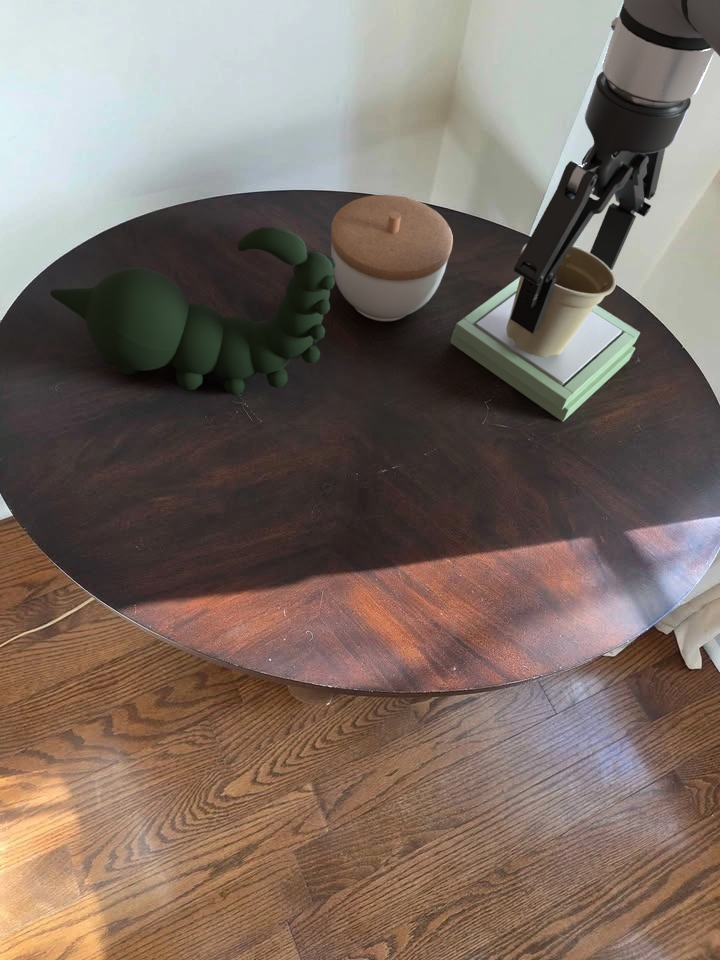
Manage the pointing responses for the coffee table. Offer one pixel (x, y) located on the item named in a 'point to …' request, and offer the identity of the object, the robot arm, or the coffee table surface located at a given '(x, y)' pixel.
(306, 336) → the toy figurine
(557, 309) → the flower pot
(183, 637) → the coffee table surface
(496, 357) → the scale
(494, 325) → the pan
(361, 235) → the lidded bowl
